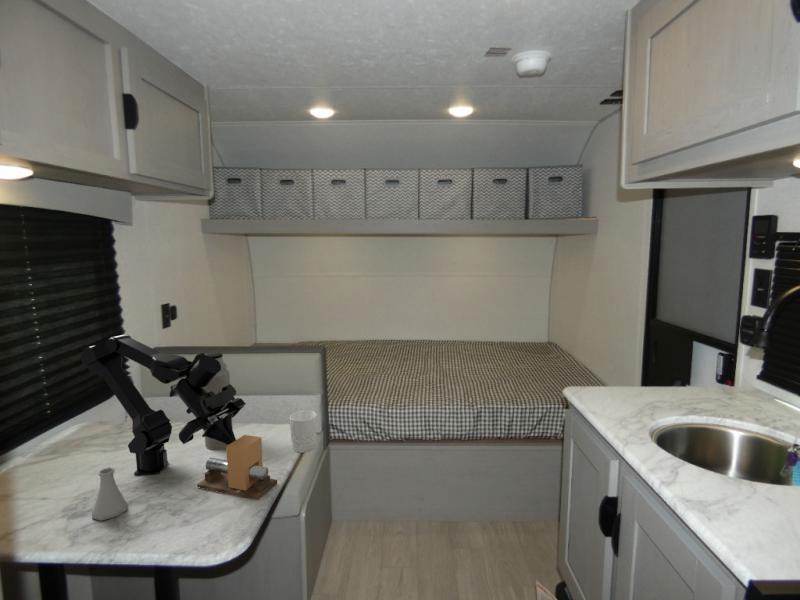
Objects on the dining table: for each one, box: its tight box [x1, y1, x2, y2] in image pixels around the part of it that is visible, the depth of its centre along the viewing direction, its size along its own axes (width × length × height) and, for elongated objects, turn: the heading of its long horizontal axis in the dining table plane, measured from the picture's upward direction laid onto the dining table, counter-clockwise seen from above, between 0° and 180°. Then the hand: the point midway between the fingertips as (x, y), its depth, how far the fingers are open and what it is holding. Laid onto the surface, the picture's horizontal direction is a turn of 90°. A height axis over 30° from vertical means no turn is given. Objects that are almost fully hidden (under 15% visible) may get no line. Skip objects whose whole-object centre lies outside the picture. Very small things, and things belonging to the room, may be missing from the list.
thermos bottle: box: [203, 352, 234, 451], centre depth 139 cm, size 8×8×28 cm
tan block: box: [225, 434, 264, 491], centre depth 115 cm, size 5×7×10 cm
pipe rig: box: [196, 457, 278, 501], centre depth 116 cm, size 18×8×6 cm, turn 71°
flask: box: [91, 466, 129, 522], centre depth 105 cm, size 7×7×10 cm
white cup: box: [289, 410, 318, 454], centre depth 137 cm, size 8×8×10 cm
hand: (235, 445), depth 115 cm, fingers closed, pressing on tan block
